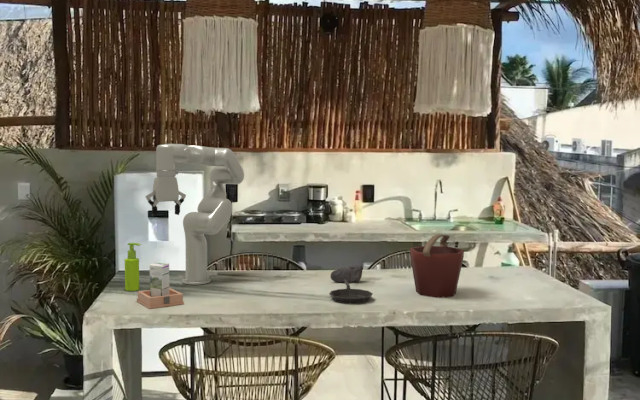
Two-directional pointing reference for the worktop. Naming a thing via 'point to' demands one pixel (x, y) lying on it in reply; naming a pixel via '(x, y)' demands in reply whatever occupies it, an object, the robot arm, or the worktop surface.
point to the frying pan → (350, 295)
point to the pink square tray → (160, 299)
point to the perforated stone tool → (347, 274)
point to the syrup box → (159, 279)
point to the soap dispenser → (132, 269)
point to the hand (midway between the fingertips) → (166, 215)
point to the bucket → (436, 268)
